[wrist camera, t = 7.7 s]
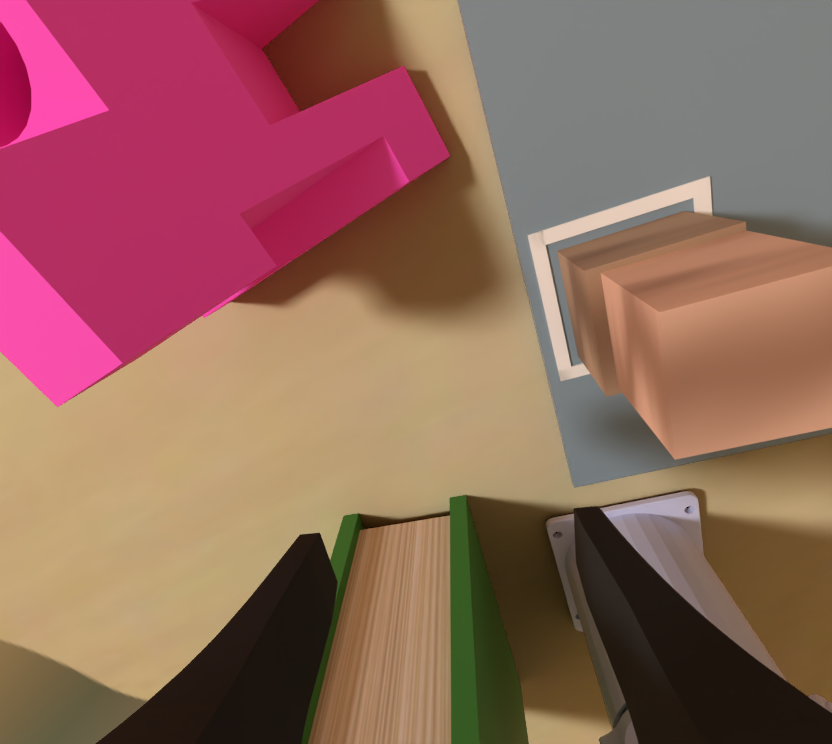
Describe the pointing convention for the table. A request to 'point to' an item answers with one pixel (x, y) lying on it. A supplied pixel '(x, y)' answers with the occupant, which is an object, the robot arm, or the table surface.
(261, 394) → the table surface
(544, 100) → the mat
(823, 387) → the terracotta block
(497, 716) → the hardback book
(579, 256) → the walnut block
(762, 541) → the table surface
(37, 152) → the bracket
